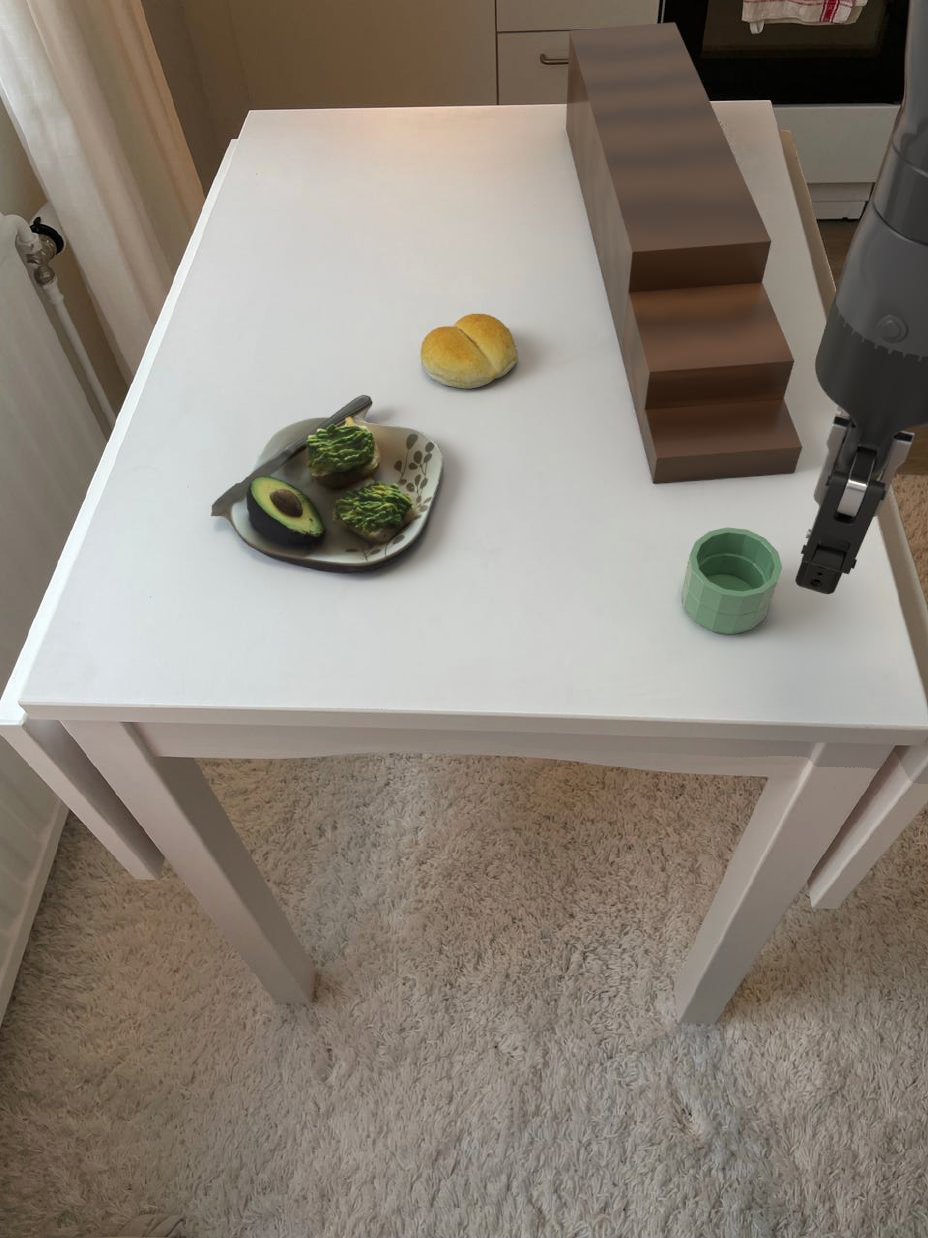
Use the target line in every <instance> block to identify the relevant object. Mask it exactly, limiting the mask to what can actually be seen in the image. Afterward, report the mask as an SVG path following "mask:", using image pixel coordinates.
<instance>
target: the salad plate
mask: <svg viewBox="0 0 928 1238" xmlns="http://www.w3.org/2000/svg"><path fill="white" fill-rule="evenodd" d="M372 406H373V401H372V397H371V396H370V395H366V394H361V395H359V396H357V397H355V398H354V399H352V400H351V401H350V402H348V403H346V404H345V405H344V406H343V407H341V408H340V409H339V410H337V411H336V412H335V413H333V414H332V415H331V416H324V417H323V416H320V417H319V416H318V417H310V418H305V419H302V420H299V421H297V422H293V423H291V424H289V425H286V426H284V427H281V428H280V429H279V430H277V431H276V432H275V433H273V434H272V436H271V437H270V438H269V440H268V441H267V442H266V443H265V445H264V446H263V448H262V449H261V451H260V454H259V455H258V457H257V459H256V461H255V463H254V464H253V466H252V468H251V470H250V473H249V475H248V476H246V477H245V478H244V479H243V480H242V481H240V482H236V483H235V484H233V485H232V486H231V487H230V488H229V489H227V490H226V491H225V492H224V493H222V494H221V495H220V496H219V497H218V498H217V499H216V500H215V501H214V502H213V503H212V505H211V513H210V517H222V518H224V519H226V520H227V521H228V522H229V523H230V524H231V526H232V527H233V529H234V531H235V533H237V535H238V537H239V538H240V539H241V540H242V541H243V542H244V543H245V544H246V545H247V546H248V547H250V548H252V549H254V550H255V551H257V552H258V553H261V554H263V555H264V556H267V557H268V558H271V559H272V560H276V561H279V562H283V563H287V564H290V565H293V566H294V565H295V566H298V567H302V568H307V569H311V570H316V571H320V572H327V573H339V574H341V573H344V574H346V573H358V572H365V571H371V570H375V569H378V568H381V567H383V566H386V565H388V564H389V563H392V562H393V561H395V560H397V559H399V558H400V557H401V556H403V555H404V554H406V553H407V552H408V551H409V550H411V549H412V548H413V546H414V545H415V544H416V543H417V541H418V540H419V539H420V538H421V537H422V535H423V533H424V531H425V530H426V528H427V525H428V524H429V518H430V512H431V509H432V505H433V503H434V500H435V497H436V494H437V492H438V488H439V484H440V480H441V477H442V472H443V468H444V463H445V462H444V457H443V454H442V451H441V449H440V447H439V446H438V444H436V442H435V441H434V440H432V438H431V437H430V436H428V435H427V434H426V433H424V432H423V431H421V430H418V429H414V428H410V427H407V426H406V427H405V426H397V425H396V426H395V425H387V424H379V423H373V422H369V421H367V420H366V416H367V414H368V412H369V410H370V409H372Z"/></svg>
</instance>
